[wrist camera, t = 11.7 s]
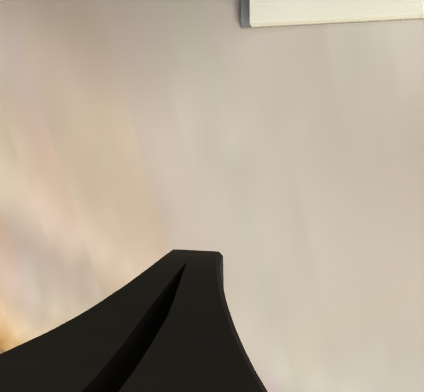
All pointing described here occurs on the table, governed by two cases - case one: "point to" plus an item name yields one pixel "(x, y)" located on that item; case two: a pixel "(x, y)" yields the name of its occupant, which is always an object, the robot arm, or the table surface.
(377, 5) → the socket plate
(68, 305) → the table surface
